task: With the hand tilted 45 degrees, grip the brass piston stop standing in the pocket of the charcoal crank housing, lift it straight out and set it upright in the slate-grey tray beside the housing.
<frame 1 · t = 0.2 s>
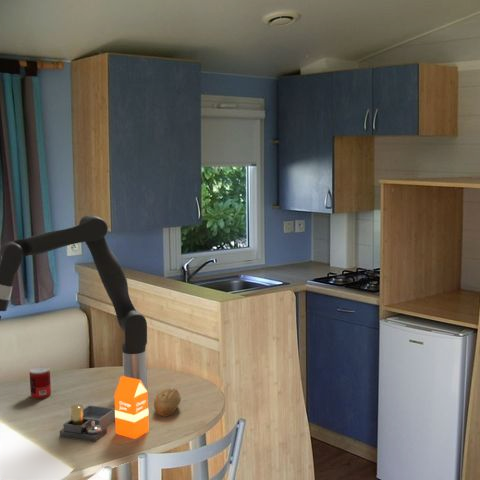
crank housing: (83, 434, 252), on the table
tray: (94, 422, 262), on the table
bread roll: (168, 410, 274), on the table
piston stop: (78, 428, 252), point 2 cm above the table, touching crank housing
canned food: (41, 396, 290), on the table
orange juice: (132, 432, 254), on the table
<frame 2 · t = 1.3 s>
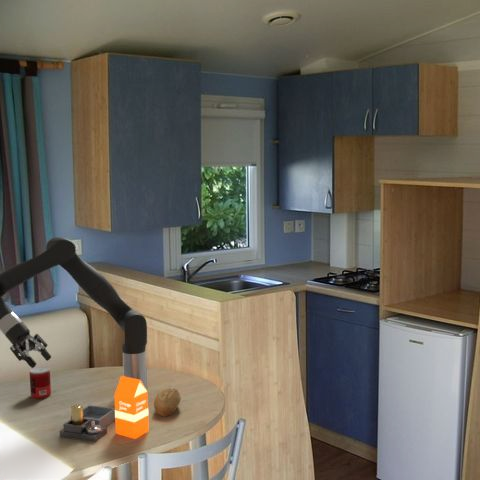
hand: (42, 362, 254), 24 cm above the table, tool tilted 45°, fingers open, 8 cm apart
nothing on the table moved.
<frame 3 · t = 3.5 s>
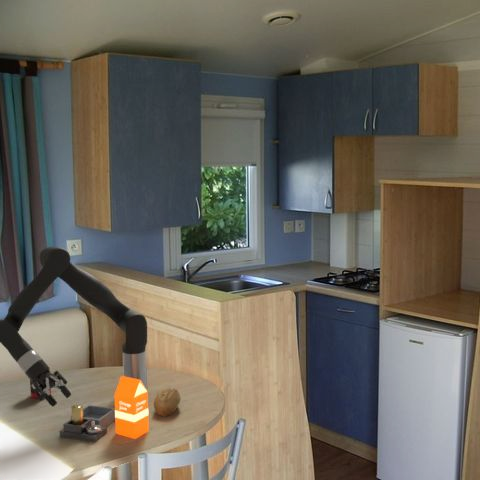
hand: (62, 400, 253), 11 cm above the table, tool tilted 45°, fingers open, 8 cm apart
nothing on the table moved.
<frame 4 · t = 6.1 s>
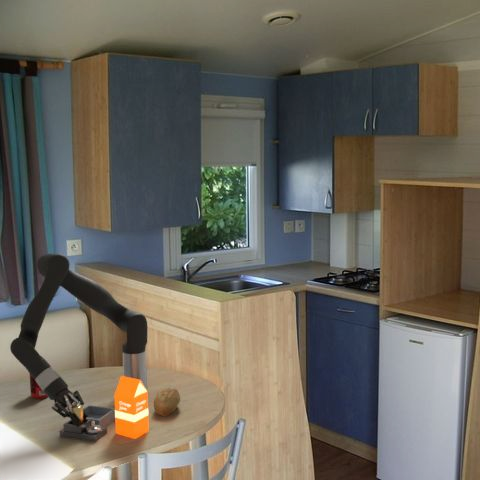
hand: (82, 420, 251), 5 cm above the table, tool tilted 45°, fingers closed on piston stop, 4 cm apart
piston stop: (78, 428, 252), point 2 cm above the table, touching crank housing, gripper
everything else where it was.
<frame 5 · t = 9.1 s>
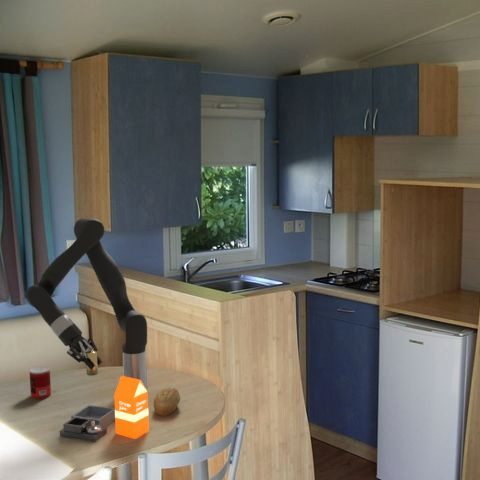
hand: (96, 365, 258), 22 cm above the table, tool tilted 45°, fingers closed on piston stop, 4 cm apart
piston stop: (92, 373, 259), point 19 cm above the table, touching gripper
everything else where it was.
when the fingers open (6 cm above the table, at t = 12.5 s): piston stop drops 1 cm, resting on tray.
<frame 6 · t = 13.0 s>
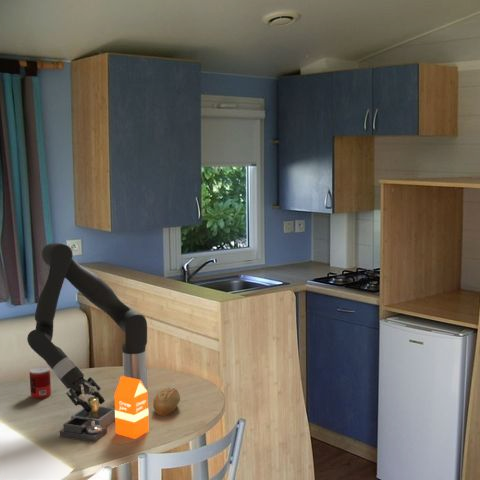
hand: (96, 406, 261), 6 cm above the table, tool tilted 45°, fingers open, 8 cm apart
piston stop: (93, 420, 262), point 1 cm above the table, touching tray
everything else where it was.
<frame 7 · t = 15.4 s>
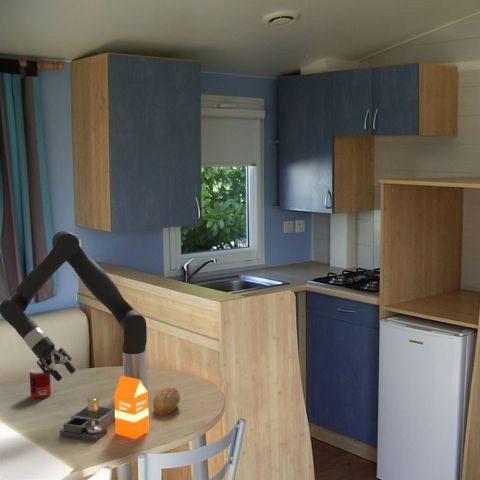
hand: (67, 375, 263), 17 cm above the table, tool tilted 45°, fingers open, 8 cm apart
nothing on the table moved.
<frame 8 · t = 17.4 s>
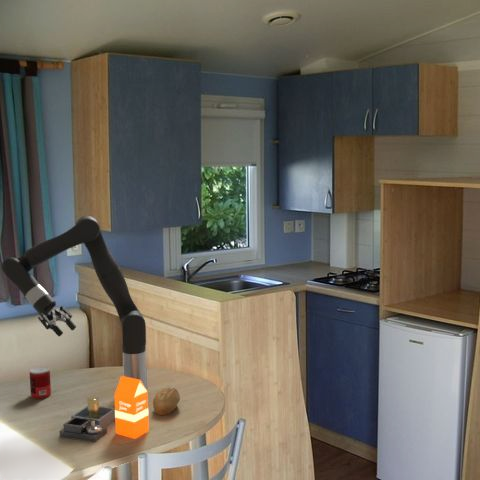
hand: (67, 331, 270), 31 cm above the table, tool tilted 45°, fingers open, 8 cm apart
nothing on the table moved.
at the end: piston stop inside the target area on the tray (0.1 cm from its centre), point 1.0 cm above the tray's base; the gripper is holding nothing; piston stop tilted 0° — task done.
